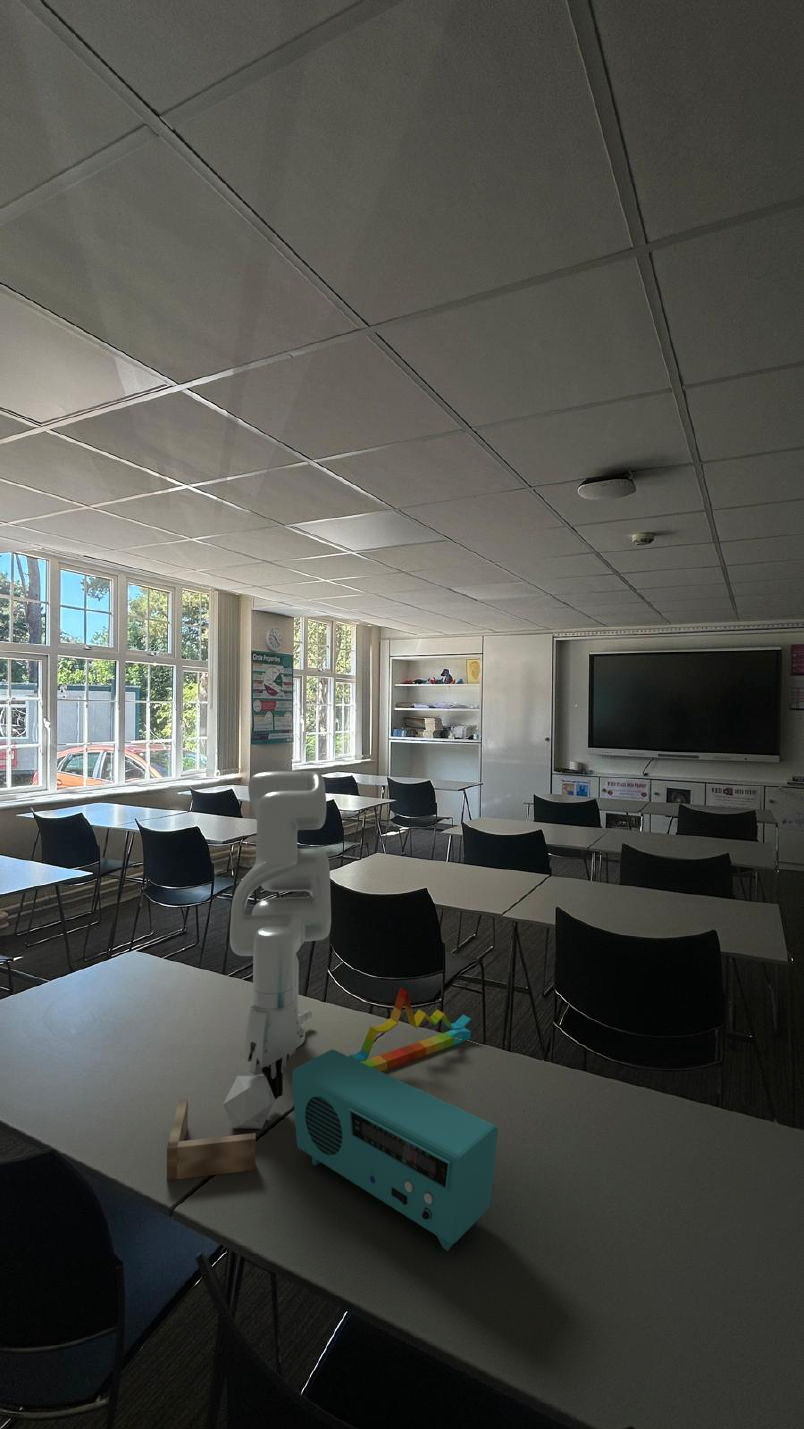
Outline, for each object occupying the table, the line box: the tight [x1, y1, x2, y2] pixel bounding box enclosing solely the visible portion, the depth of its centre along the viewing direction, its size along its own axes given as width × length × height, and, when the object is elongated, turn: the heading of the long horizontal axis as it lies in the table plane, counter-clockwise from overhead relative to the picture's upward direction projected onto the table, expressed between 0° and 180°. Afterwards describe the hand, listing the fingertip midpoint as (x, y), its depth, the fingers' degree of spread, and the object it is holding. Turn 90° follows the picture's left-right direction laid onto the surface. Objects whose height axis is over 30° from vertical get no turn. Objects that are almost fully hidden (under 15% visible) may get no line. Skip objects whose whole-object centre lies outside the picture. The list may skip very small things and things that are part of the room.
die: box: [222, 1075, 276, 1130], centre depth 119 cm, size 8×9×10 cm
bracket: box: [166, 1098, 257, 1181], centre depth 109 cm, size 11×19×5 cm, turn 56°
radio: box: [291, 1049, 499, 1252], centre depth 102 cm, size 34×10×15 cm, turn 50°
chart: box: [348, 987, 472, 1072], centre depth 144 cm, size 30×3×15 cm, turn 126°
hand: (273, 1094), depth 124 cm, fingers closed
